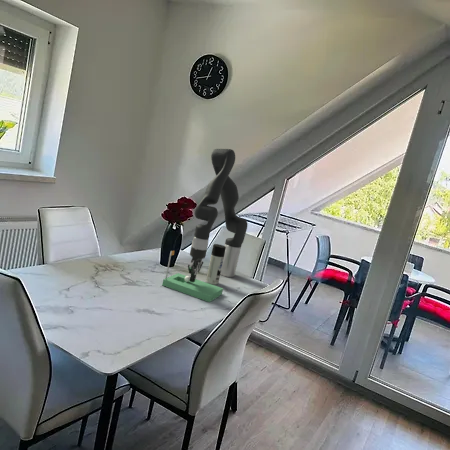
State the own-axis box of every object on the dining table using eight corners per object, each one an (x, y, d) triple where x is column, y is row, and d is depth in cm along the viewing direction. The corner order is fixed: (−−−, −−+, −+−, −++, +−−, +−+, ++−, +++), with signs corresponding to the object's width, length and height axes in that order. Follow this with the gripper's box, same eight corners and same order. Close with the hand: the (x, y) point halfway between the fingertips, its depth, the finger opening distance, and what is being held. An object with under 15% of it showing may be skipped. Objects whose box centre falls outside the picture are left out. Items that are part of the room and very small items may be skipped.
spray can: (216, 285, 217) (224, 248, 213) (204, 282, 218) (211, 245, 214) (219, 282, 223) (227, 246, 220) (207, 279, 224) (215, 242, 221)
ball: (186, 274, 205) (192, 275, 204) (185, 281, 206) (191, 282, 204) (183, 275, 203) (189, 276, 201) (183, 281, 203) (188, 283, 202)
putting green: (177, 278, 215) (183, 246, 212) (221, 294, 206) (229, 261, 203) (162, 285, 201) (168, 251, 198) (209, 302, 192) (217, 266, 189)
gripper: (198, 243, 207) (191, 276, 210) (186, 246, 195) (179, 282, 198) (211, 247, 205) (204, 281, 208) (200, 251, 193) (193, 287, 195)
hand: (192, 281), depth 203 cm, fingers closed
